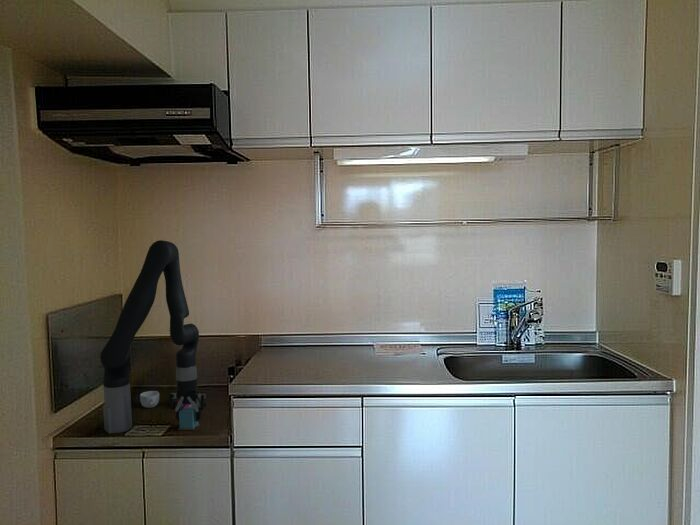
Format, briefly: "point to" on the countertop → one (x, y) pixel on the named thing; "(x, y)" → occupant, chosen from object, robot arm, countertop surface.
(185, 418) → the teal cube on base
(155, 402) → the teacup
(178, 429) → the dark stepped block
